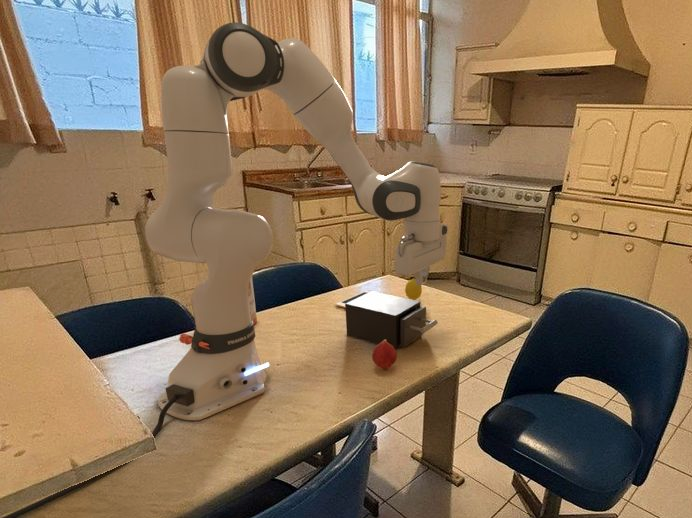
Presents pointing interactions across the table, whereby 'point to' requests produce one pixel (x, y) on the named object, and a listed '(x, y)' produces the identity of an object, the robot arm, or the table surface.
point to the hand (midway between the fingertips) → (421, 284)
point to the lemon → (413, 290)
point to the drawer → (413, 325)
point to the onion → (384, 355)
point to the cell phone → (350, 299)
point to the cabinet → (377, 317)
